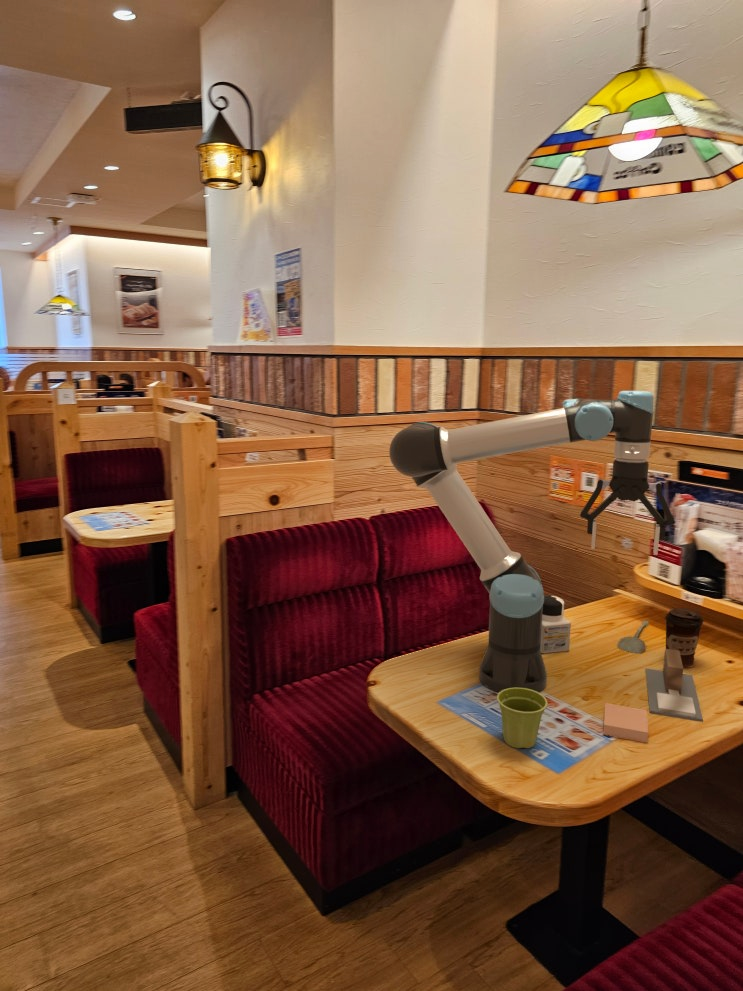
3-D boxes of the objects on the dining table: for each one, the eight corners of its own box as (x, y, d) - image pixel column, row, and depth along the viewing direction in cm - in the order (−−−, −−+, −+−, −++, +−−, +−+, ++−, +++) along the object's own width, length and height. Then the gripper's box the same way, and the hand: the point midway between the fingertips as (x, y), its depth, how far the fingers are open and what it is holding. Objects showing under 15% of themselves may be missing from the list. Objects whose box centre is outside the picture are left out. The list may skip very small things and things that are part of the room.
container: (542, 654, 167) (544, 604, 164) (527, 641, 174) (529, 594, 172) (569, 650, 169) (572, 602, 166) (553, 638, 176) (556, 592, 174)
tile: (604, 714, 139) (603, 736, 131) (605, 703, 139) (604, 724, 130) (645, 721, 136) (647, 744, 128) (646, 710, 136) (648, 732, 128)
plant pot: (553, 739, 129) (556, 698, 127) (529, 760, 122) (532, 717, 120) (510, 722, 135) (513, 682, 133) (485, 741, 128) (487, 700, 126)
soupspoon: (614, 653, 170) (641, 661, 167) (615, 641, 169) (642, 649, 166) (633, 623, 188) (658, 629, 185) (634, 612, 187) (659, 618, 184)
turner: (658, 711, 139) (660, 684, 138) (653, 671, 157) (655, 647, 156) (695, 717, 136) (698, 690, 135) (686, 676, 154) (688, 651, 153)
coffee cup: (703, 672, 157) (709, 620, 155) (665, 669, 159) (670, 617, 156) (693, 657, 166) (698, 607, 163) (657, 654, 167) (662, 604, 165)
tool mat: (649, 712, 139) (649, 710, 139) (645, 670, 158) (645, 668, 158) (702, 721, 136) (702, 719, 136) (692, 676, 155) (692, 674, 155)
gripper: (572, 459, 152) (566, 549, 156) (693, 465, 143) (684, 560, 148) (574, 455, 159) (569, 541, 163) (690, 460, 150) (681, 551, 154)
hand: (623, 550), depth 155 cm, fingers open, 13 cm apart
